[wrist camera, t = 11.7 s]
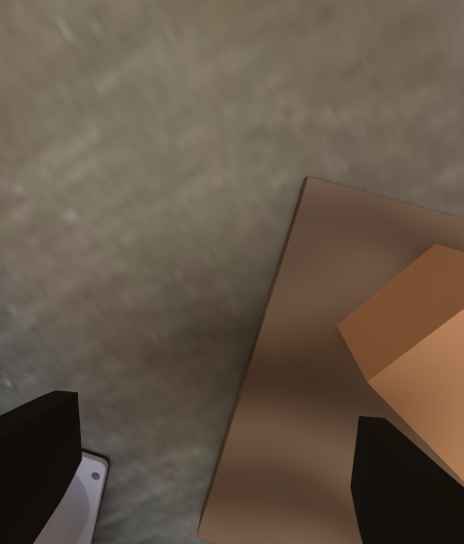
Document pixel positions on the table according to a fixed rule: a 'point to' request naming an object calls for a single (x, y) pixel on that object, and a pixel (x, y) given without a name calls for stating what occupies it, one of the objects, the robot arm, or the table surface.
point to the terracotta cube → (418, 348)
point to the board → (314, 372)
